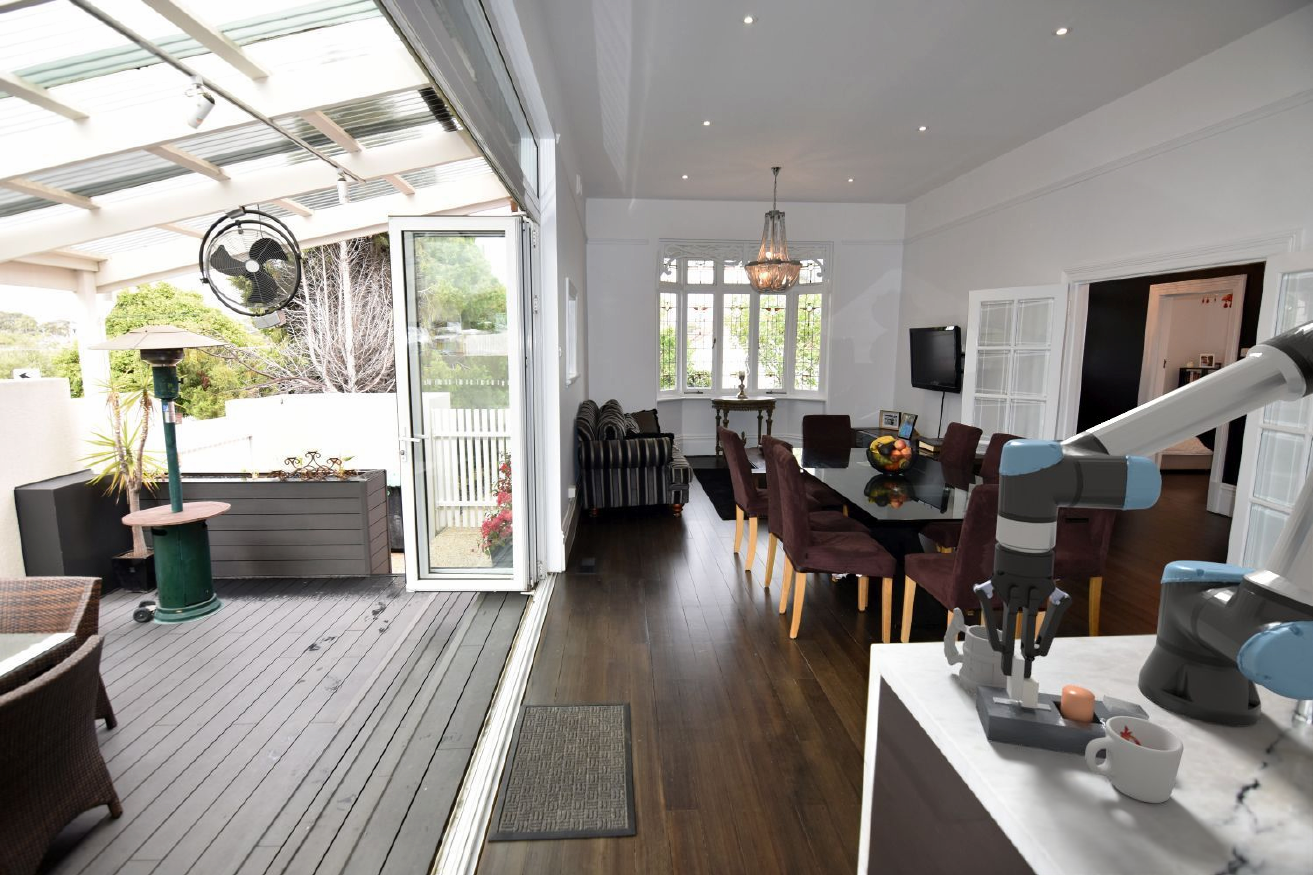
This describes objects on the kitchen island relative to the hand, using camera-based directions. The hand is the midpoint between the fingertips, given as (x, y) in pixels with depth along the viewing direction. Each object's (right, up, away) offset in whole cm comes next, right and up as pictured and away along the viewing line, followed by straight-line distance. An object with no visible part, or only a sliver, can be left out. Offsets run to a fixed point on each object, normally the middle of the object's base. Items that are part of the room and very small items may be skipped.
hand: (1014, 695), depth 94 cm
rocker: (+14, 0, -4) cm, 14 cm away
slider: (+2, -1, 0) cm, 2 cm away
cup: (+7, -7, -13) cm, 16 cm away
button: (+8, -3, -2) cm, 9 cm away
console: (+6, -5, -1) cm, 8 cm away
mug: (+1, -4, +14) cm, 14 cm away
